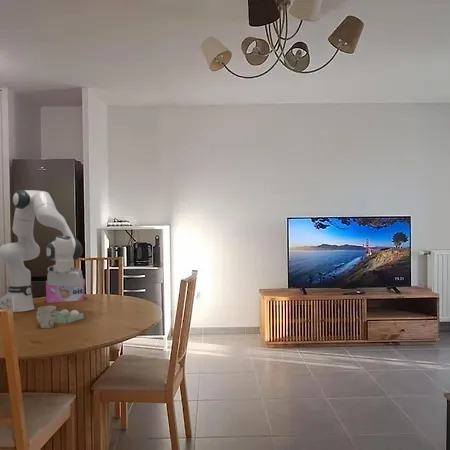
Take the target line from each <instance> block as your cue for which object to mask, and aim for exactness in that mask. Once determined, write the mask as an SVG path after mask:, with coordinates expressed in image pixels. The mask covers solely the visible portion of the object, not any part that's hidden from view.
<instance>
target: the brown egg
mask: <svg viewBox="0 0 450 450" xmlns="http://www.w3.org/2000/svg"><path fill="white" fill-rule="evenodd" d="M68 292H70V291H69V290H68V289H64V290H62V291H61V296H62V297H63V298H68V297H69V296H70V295H68Z"/></svg>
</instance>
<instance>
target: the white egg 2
mask: <svg viewBox="0 0 450 450" xmlns="http://www.w3.org/2000/svg"><path fill="white" fill-rule="evenodd" d="M69 312H70V315H74V316H76V315H79V313H80V312H79V311H78V310H76V309H73V310H71V311H69Z"/></svg>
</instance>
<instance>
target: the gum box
mask: <svg viewBox="0 0 450 450" xmlns="http://www.w3.org/2000/svg"><path fill="white" fill-rule="evenodd" d="M85 286H86V280H85V278H84V277H83V286H81V287H75V288H74V290H73V295H71V296H69V297H68V298H63V297H62V296H61V295H59V291H58V290H57V286H49V285H48V283H47V279H45V296H46V304H51V303H52V304H54V303H64V302H65V303H66V302H80V301H85ZM64 289H68V290H69V291H70V287H68V286H62V287H61V290H64Z"/></svg>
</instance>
